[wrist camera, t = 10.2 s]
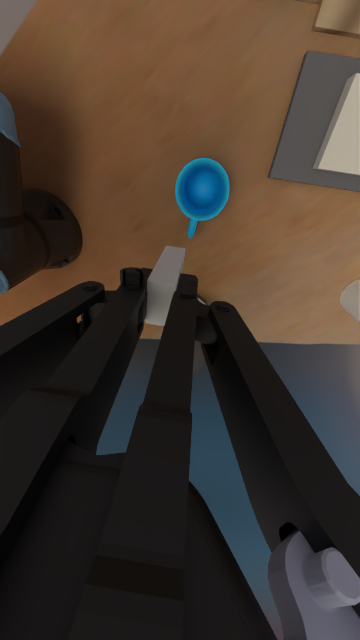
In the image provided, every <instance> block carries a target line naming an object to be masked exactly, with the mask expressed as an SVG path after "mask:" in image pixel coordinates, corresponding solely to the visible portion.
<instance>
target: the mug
mask: <svg viewBox="0 0 360 640" xmlns="http://www.w3.org/2000/svg"><path fill="white" fill-rule="evenodd" d="M229 191H230V186H229V178H228V176H227V173H226V171H225V169H224V168H223V167H222V166H221V165H220V164H219V163H218V162H216V161H214V160H212V159H209V158H199V159H195V160H192V161H191V162H190V163H188V164H187V165H186V166H185V167H184V168H183V169H182V171H181V172H180V174H179V176H178V179H177V182H176V188H175V195H176V200H177V204H178V206H179V207H180V209H181V211H182V212H183V213H184V214H185V215H186V216H187V217H189V218H191V220H190V224H189V228H188V232H187V237H188V238H193V236H194V233H195V230H196V226H197V223H198V221H205V220H209V219H212V218H213V217H215V216H217V215H218V214H219V213H220V212H221V211H222V209H223V208H224V207H225V205H226V202H227V200H228V197H229Z"/></svg>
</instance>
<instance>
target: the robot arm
mask: <svg viewBox="0 0 360 640" xmlns="http://www.w3.org/2000/svg"><path fill="white" fill-rule="evenodd" d="M19 148H21V145H20V142H19V141H18V137H17V129H16V122H15V115H14V111H13V108H12V106H11V104H10V102H9V101H8V100H7V98H6V97H5V96H4V95H3V94H2V93H1V92H0V294H3V293H5V292H6V291H7V290H9V289H11V288H12V287H14V286H16V285H17V284H19V283H20V282H22V281H24V280H25V279H27V278H28V277H30V276H32V275H33V274H35V273H37V272H38V271H40V270H42V269H54V268H61V267H64V266H66V265H68V264H69V263H71V262H72V261H74V260H75V259H76V258H77V257H78V255H79V253H80V251H81V247H82V235H81V230H80V227H79V224H78V222H77V220H76V218H75V216H74V215H73V213H72V212H71V211H70V209H69V208H68V207H67V206H66V205H65V204H64V203H63V202H62V201H61V200H59V199H58V198H57V197H55V196H54V195H52V194H50V193H48V192H45V191H42V190H36V189H30V190H23V188H22V176H21V163H20V151H19ZM185 250H186V248H180V247H174V246H167V245H166V247H165V249H164V251H163V252H162V254H161V256H160V258H159V260H158V262H157V263H156V265H155V267H154V269H148V268H141V269H139V268H132V267H130V268H124V269H122V270H120V281H121V285H120V286H119V288H118V289H117V290H114V291H105V289H104V285H103V284H101V283H99V282H95V281H92V282H91V281H88V282H84V283H81V284H79V285H77V286H75V287H73V288H71V289H69V290H67V291H65V292H64V293H62V294H60V295H58V296H56V297H54V298H52V299H50V300H48V301H47V302H45V303H43V304H41V305H39V306H37V307H35V308H33V309H32V310H30V311H28V312H26V313H24V314H22V315H20V316H18V317H16V318H15V319H13V320H11V321H9V322H7V323H5V324H3V325H1V326H0V640H277V638H276V636H275V634H274V632H273V630H272V628H271V626H270V625H269V623H268V621H267V619H266V617H265V615H264V613H263V611H262V609H261V607H260V605H259V603H258V602H257V600H256V598H255V596H254V594H253V592H252V590H251V588H250V586H249V584H248V583H247V581H246V579H245V577H244V575H243V573H242V571H241V569H240V567H239V565H238V563H237V561H236V559H235V558H234V556H233V554H232V552H231V550H230V548H229V546H228V544H227V542H226V540H225V539H224V536H223V535H222V533H221V531H220V529H219V527H218V525H217V523H216V521H215V519H214V517H213V515H212V514H211V512H210V510H209V508H208V506H207V504H206V502H205V501H204V499H203V497H202V496H201V495H200V493H199V492H198V490H197V489H196V488H195V487H194V486H193V484H192V483H191V482H190V481H189V465H190V446H191V430H192V413H190V404H191V390H192V375H193V361H194V346H195V340H197V341H199V342H201V348H202V352H203V355H204V358H205V361H206V364H207V367H208V370H209V374H210V376H211V380H212V383H213V386H214V389H215V393H216V396H217V399H218V402H219V405H220V408H221V411H222V414H223V417H224V421H225V424H226V426H227V430H228V433H229V437H230V439H231V443H232V446H233V449H234V452H235V455H236V459H237V461H238V465H239V468H240V471H241V474H242V477H243V481H244V484H245V487H246V490H247V493H248V496H249V499H250V502H251V505H252V508H253V510H254V513H255V516H256V519H257V521H258V524H259V526H260V529H261V531H262V533H263V535H264V537H265V539H266V542H267V544H268V546H269V548H270V550H271V552H272V554H271V556H270V559H269V563H268V579H269V585H270V590H271V593H272V595H273V599H274V601H275V604H276V607H277V610H278V613H279V616H280V619H281V624H282V630H283V635H284V640H360V496H359V495H358V494H357V493H356V492H355V491H354V490H353V488H351V486H350V485H349V484H348V483H347V482H346V480H345V478H344V477H343V475H342V474H341V472H340V471H339V469H338V467H337V466H336V465H335V463H334V461H333V460H332V458H331V457H330V455H329V454H328V452H327V450H326V449H325V447H324V446H323V444H322V443H321V441H320V440H319V438H318V436H317V435H316V433H315V432H314V430H313V429H312V427H311V425H310V424H309V422H308V421H307V419H306V418H305V416H304V414H303V413H302V411H301V410H300V409H299V407H298V405H297V404H296V402H295V401H294V399H293V397H292V396H291V394H290V393H289V391H288V390H287V388H286V386H285V385H284V383H283V382H282V380H281V379H280V377H279V376H278V374H277V373H276V371H275V369H274V368H273V366H272V365H271V363H270V361H269V360H268V358H267V357H266V355H265V354H264V352H263V351H262V349H261V348H260V346H259V344H258V343H257V341H256V340H255V338H254V337H253V335H252V333H251V332H250V330H249V329H248V327H247V326H246V324H245V323H244V321H243V319H242V318H241V316H240V315H239V313H238V312H237V310H236V308H235V307H234V306H233V305H231V304H229V303H227V302H224V301H215V302H212V303H211V304H210V306H208V305H205V304H203V303H201V302H200V301H199V300H198V296H197V286H198V279H197V277H196V276H195V275H189V274H182V271H183V264H184V257H185ZM79 315H81V320H82V321H80V322H79V323H77V319H76V318H77V317H78V316H79ZM145 317H146V320H145V323H147V324H154V325H160V326H164V329H163V333H162V336H161V340H160V344H159V347H158V351H157V355H156V358H155V362H154V365H153V370H152V373H151V376H150V380H149V384H148V387H147V391H146V394H145V398H144V401H143V404H142V405H140V407H139V410H138V413H137V416H136V419H135V423H134V426H133V430H132V433H131V437H130V440H129V444H128V447H127V450H126V453H116V454H108V455H96V451H97V445H98V441H99V439H100V436H101V434H102V431H103V429H104V426H105V423H106V421H107V418H108V416H109V413H110V411H111V408H112V406H113V403H114V401H115V398H116V396H117V393H118V391H119V388H120V386H121V383H122V381H123V378H124V376H125V373H126V371H127V368H128V366H129V363H130V360H131V358H132V356H133V353H134V350H135V348H136V345H137V343H138V340H139V338H140V335H141V333H142V330H143V326H144V319H145Z"/></svg>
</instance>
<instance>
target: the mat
mask: <svg viewBox="0 0 360 640" xmlns="http://www.w3.org/2000/svg"><path fill="white" fill-rule="evenodd" d="M355 73H360V59H359V58H352V57H346V56H339V55H332V54H326V53H319V52H313V51H307V53H306V54H305V55H304V58H303V62H302V65H301V68H300V72H299V75H298V78H297V82H296V85H295V88H294V92H293V95H292V98H291V102H290V105H289V108H288V112H287V115H286V118H285V122H284V125H283V128H282V132H281V135H280V138H279V142H278V145H277V148H276V152H275V155H274V158H273V162H272V165H271V168H270V172H269V175H268V178H275V179H281V180H287V181H294V182H300V183H307V184H313V185H320V186H326V187H332V188H339V189H345V190H352V191H358V192H360V176H356V175H350V174H343V173H337V172H330V171H324V170H318V169H312V168H313V166H314V163H315V161H316V158H317V155H318V153H319V150H320V148H321V145H322V143H323V140H324V138H325V135H326V132H327V130H328V127H329V125H330V122H331V120H332V117H333V114H334V112H335V109H336V107H337V104H338V102H339V99H340V97H341V94H342V91H343V89H344V86H345V84H346V81H347V79H348V78H350V77H351V76H352V75H354V74H355Z"/></svg>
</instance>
